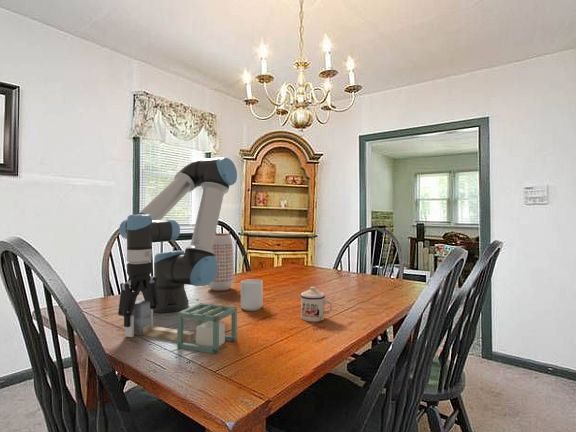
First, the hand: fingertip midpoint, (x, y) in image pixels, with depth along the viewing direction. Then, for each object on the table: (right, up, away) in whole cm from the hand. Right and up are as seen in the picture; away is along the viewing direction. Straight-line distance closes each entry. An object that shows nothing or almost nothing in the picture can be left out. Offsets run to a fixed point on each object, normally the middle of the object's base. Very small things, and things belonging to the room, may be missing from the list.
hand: (139, 332), depth 116 cm
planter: (+14, 0, +64) cm, 66 cm away
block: (+25, -1, -10) cm, 27 cm away
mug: (+34, 0, +31) cm, 46 cm away
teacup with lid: (+59, -1, +16) cm, 61 cm away
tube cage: (+24, 0, -9) cm, 26 cm away
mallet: (+8, 0, -3) cm, 9 cm away
